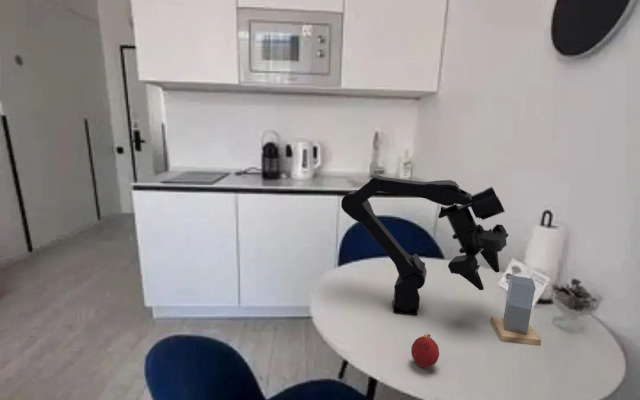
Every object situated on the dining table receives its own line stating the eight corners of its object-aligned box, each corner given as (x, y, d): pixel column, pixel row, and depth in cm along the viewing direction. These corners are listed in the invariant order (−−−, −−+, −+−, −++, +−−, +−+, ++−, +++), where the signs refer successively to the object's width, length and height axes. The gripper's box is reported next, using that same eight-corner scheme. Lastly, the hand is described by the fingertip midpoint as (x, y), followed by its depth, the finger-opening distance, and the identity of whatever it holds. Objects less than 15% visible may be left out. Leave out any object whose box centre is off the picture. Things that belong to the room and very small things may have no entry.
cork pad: (501, 341, 91) (502, 335, 91) (490, 321, 100) (490, 316, 100) (540, 345, 90) (541, 339, 90) (525, 325, 99) (526, 320, 99)
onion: (432, 379, 77) (437, 345, 75) (406, 369, 80) (409, 336, 78) (440, 364, 82) (444, 332, 80) (414, 355, 85) (418, 323, 83)
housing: (504, 330, 93) (512, 282, 91) (503, 320, 98) (510, 275, 95) (526, 335, 92) (535, 286, 89) (524, 325, 96) (532, 278, 93)
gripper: (475, 237, 83) (504, 298, 84) (509, 205, 94) (534, 260, 95) (435, 244, 92) (462, 300, 93) (470, 214, 103) (494, 264, 104)
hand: (490, 280), depth 96 cm, fingers open, 9 cm apart
